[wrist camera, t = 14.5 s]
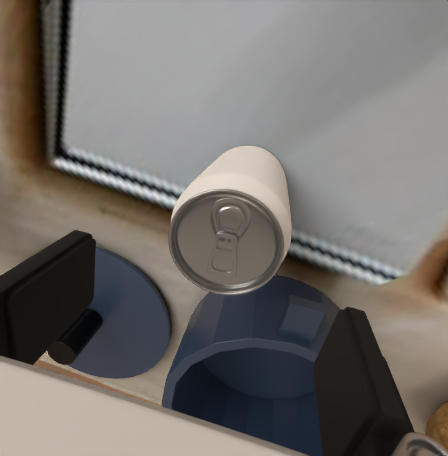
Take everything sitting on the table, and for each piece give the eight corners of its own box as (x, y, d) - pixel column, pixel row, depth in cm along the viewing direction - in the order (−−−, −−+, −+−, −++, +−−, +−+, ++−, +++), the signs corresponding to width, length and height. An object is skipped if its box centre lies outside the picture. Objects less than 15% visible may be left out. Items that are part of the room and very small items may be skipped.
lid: (28, 347, 38) (-14, 390, 32) (17, 221, 31) (-41, 248, 25) (162, 387, 37) (142, 438, 31) (183, 266, 29) (161, 304, 24)
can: (294, 151, 24) (310, 194, 13) (277, 226, 26) (277, 314, 15) (214, 138, 24) (163, 167, 13) (205, 212, 27) (156, 287, 16)
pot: (176, 391, 36) (149, 468, 29) (209, 230, 27) (183, 280, 20) (311, 431, 35) (321, 523, 28) (392, 277, 26) (440, 350, 19)
